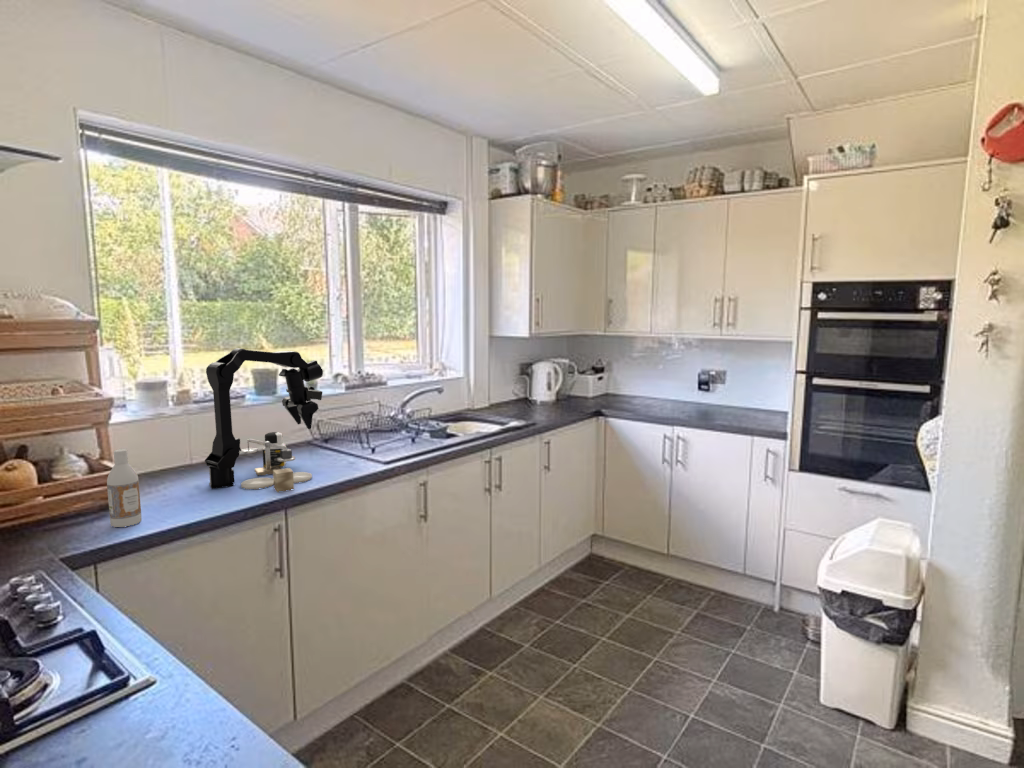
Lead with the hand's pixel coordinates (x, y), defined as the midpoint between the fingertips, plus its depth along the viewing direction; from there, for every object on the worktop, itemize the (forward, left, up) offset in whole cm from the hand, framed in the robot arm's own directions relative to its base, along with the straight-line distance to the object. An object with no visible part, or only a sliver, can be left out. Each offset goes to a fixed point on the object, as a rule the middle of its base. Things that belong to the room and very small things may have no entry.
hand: (304, 426), depth 213 cm
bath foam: (-56, -35, -15) cm, 67 cm away
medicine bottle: (-10, +6, -15) cm, 19 cm away
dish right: (-8, -17, -14) cm, 23 cm away
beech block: (-14, -26, -15) cm, 32 cm away
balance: (-14, -3, -14) cm, 20 cm away
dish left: (-20, -17, -14) cm, 29 cm away
